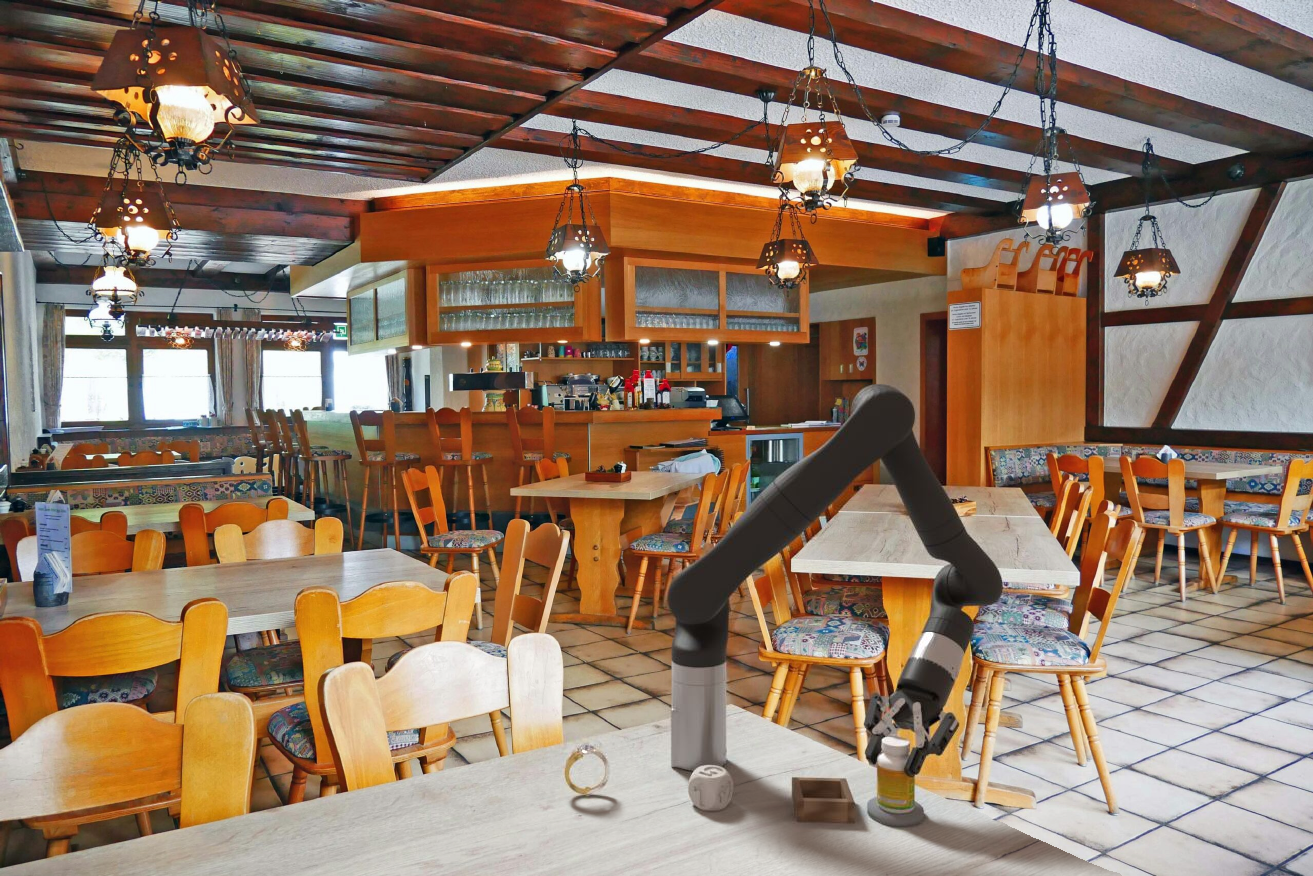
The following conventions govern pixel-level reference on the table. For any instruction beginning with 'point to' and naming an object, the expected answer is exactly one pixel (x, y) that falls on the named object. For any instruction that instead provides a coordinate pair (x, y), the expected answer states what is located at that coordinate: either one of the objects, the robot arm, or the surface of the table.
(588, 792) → the ring
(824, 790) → the walnut collar
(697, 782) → the die
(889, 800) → the supplement bottle
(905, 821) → the rubber coaster
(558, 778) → the table surface
